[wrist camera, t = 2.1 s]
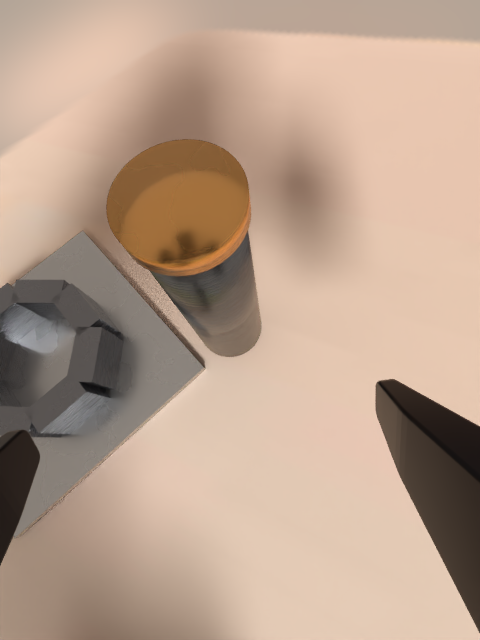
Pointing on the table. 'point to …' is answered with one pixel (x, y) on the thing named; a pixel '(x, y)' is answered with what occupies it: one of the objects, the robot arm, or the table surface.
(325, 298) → the table surface
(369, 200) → the table surface
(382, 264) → the table surface
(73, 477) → the rosette collar
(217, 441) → the table surface
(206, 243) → the copper capped metal cylinder
